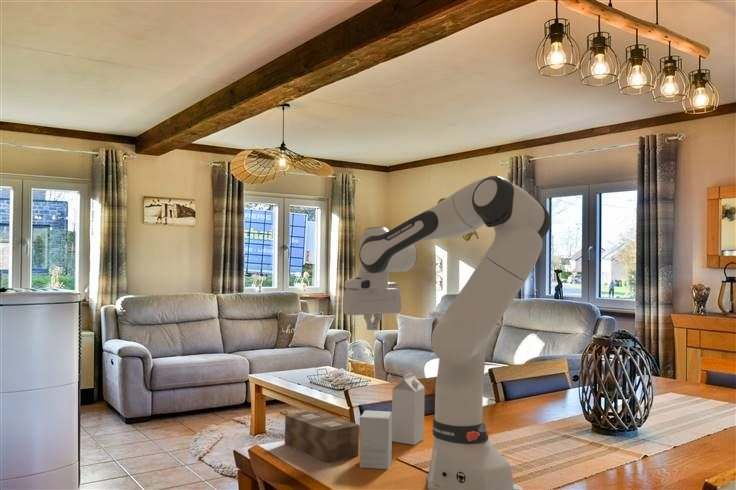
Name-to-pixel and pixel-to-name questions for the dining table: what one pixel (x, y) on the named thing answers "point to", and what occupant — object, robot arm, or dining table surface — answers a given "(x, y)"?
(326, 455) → the walnut block
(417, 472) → the dining table surface
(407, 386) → the milk carton
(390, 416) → the supplement box
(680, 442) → the dining table surface
